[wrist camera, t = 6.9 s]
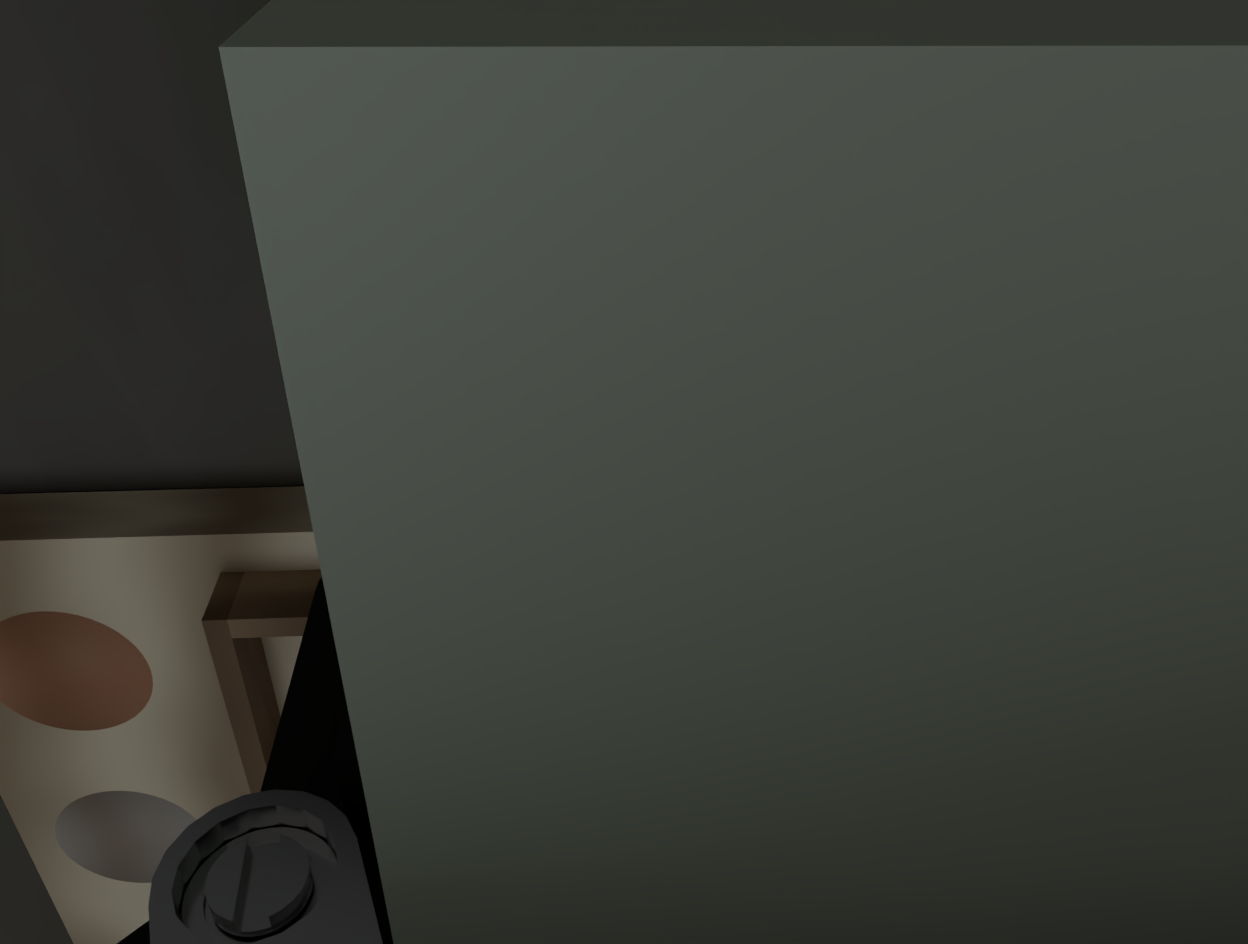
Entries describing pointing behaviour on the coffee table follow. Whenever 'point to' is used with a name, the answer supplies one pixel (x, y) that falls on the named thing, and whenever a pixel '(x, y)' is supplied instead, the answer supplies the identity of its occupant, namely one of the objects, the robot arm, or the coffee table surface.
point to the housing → (774, 457)
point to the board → (141, 675)
